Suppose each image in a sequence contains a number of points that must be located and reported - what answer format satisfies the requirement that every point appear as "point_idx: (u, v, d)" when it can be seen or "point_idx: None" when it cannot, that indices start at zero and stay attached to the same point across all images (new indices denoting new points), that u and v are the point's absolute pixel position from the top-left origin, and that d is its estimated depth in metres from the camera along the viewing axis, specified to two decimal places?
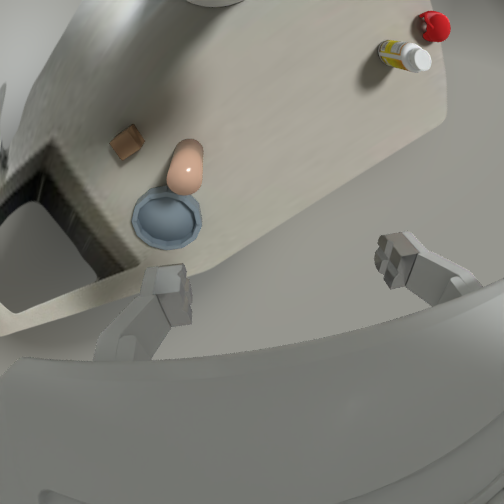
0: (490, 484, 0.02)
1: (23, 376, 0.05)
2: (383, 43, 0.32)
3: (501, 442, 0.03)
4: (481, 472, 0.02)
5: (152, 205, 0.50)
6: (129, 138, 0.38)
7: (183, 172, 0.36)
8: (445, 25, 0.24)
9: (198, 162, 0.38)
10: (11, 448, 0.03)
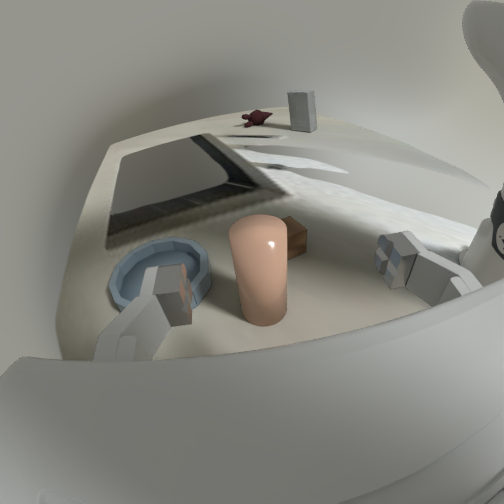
0: (489, 484, 0.02)
1: (23, 376, 0.05)
2: None
3: (501, 442, 0.03)
4: (481, 472, 0.02)
5: (186, 264, 0.37)
6: (295, 231, 0.36)
7: (270, 228, 0.24)
8: None
9: (278, 264, 0.24)
10: (11, 448, 0.03)
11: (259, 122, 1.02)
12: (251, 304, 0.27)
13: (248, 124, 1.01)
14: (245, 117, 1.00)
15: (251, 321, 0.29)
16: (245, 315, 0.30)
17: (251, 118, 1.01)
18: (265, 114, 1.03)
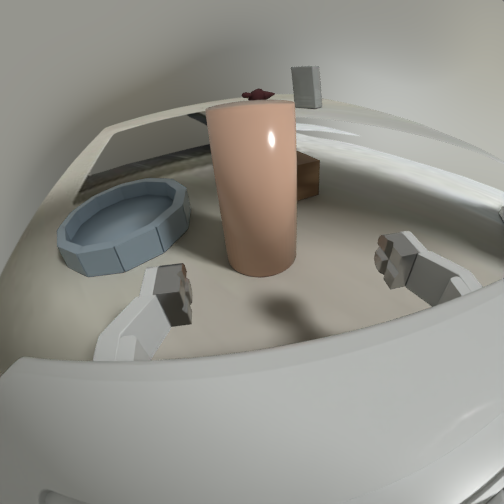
0: (489, 484, 0.02)
1: (23, 376, 0.05)
2: None
3: (501, 442, 0.03)
4: (481, 472, 0.02)
5: (158, 206, 0.27)
6: (305, 161, 0.26)
7: (269, 102, 0.14)
8: None
9: (283, 149, 0.14)
10: (11, 448, 0.03)
11: None
12: (239, 231, 0.17)
13: None
14: (245, 95, 0.90)
15: (241, 268, 0.19)
16: (231, 259, 0.19)
17: (252, 97, 0.92)
18: (267, 93, 0.93)
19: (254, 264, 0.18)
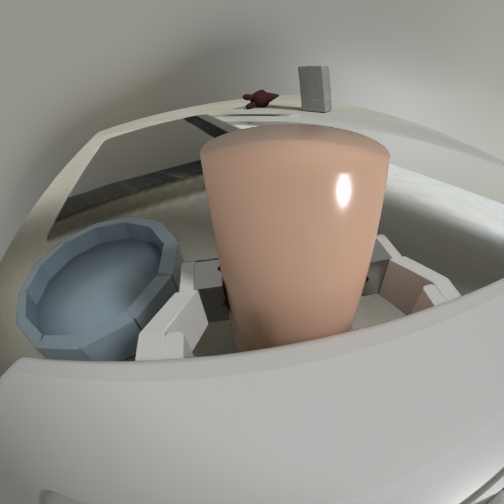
0: (490, 484, 0.02)
1: (23, 376, 0.05)
2: None
3: (501, 442, 0.03)
4: (481, 472, 0.02)
5: (142, 261, 0.20)
6: None
7: (334, 140, 0.07)
8: None
9: (365, 253, 0.07)
10: (11, 448, 0.03)
11: (263, 103, 0.85)
12: None
13: (250, 105, 0.85)
14: (247, 97, 0.83)
15: None
16: None
17: (254, 99, 0.84)
18: (270, 95, 0.86)
19: None
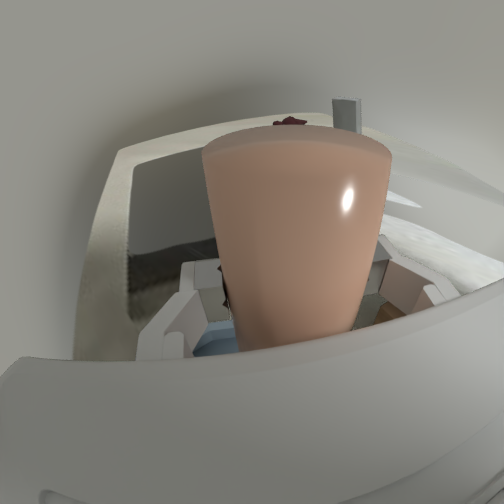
0: (490, 484, 0.02)
1: (23, 376, 0.05)
2: None
3: (501, 442, 0.03)
4: (481, 472, 0.02)
5: None
6: None
7: (336, 141, 0.07)
8: None
9: (367, 254, 0.07)
10: (11, 448, 0.03)
11: None
12: None
13: None
14: (277, 124, 0.87)
15: None
16: None
17: None
18: (299, 122, 0.89)
19: None
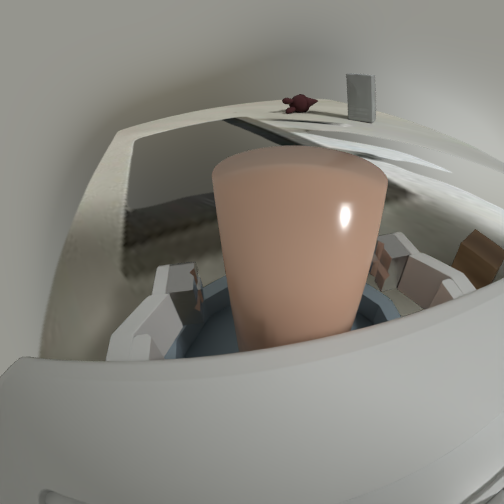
0: (489, 483, 0.02)
1: (23, 376, 0.05)
2: None
3: (502, 441, 0.03)
4: (481, 472, 0.02)
5: None
6: (499, 255, 0.15)
7: (336, 165, 0.08)
8: None
9: (362, 271, 0.07)
10: (11, 448, 0.03)
11: (303, 109, 0.81)
12: None
13: (290, 110, 0.80)
14: (287, 101, 0.79)
15: None
16: None
17: (294, 103, 0.80)
18: (310, 100, 0.81)
19: None
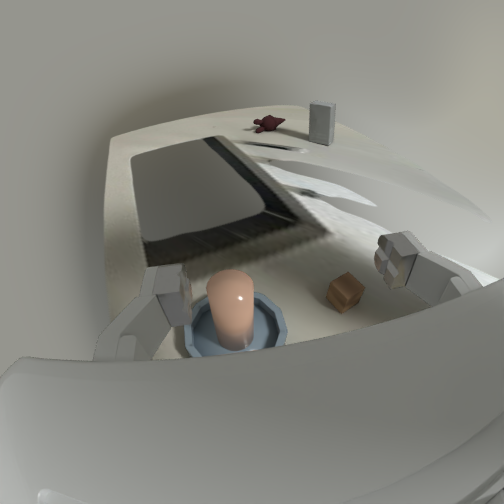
0: (490, 483, 0.02)
1: (23, 376, 0.05)
2: None
3: (501, 442, 0.03)
4: (481, 472, 0.02)
5: (257, 318, 0.39)
6: (356, 289, 0.39)
7: (240, 285, 0.30)
8: None
9: (246, 313, 0.30)
10: (11, 448, 0.03)
11: (271, 129, 0.99)
12: (224, 337, 0.33)
13: (259, 130, 0.98)
14: (257, 122, 0.97)
15: (224, 347, 0.35)
16: (220, 342, 0.36)
17: (263, 124, 0.98)
18: (278, 120, 0.99)
19: (231, 347, 0.35)
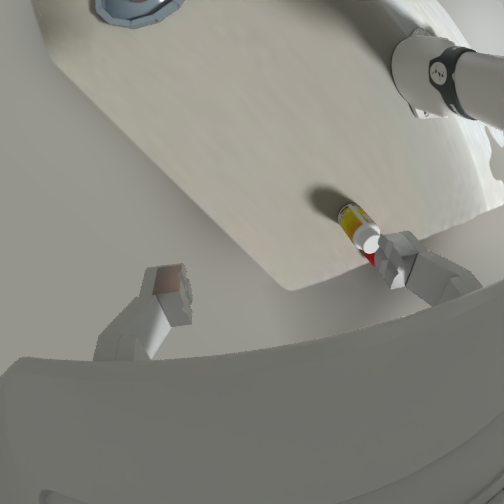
0: (490, 484, 0.02)
1: (23, 376, 0.05)
2: (360, 207, 0.49)
3: (501, 442, 0.03)
4: (481, 472, 0.02)
5: None
6: None
7: None
8: None
9: None
10: (11, 448, 0.03)
11: None
12: None
13: None
14: None
15: (131, 1, 0.22)
16: None
17: None
18: None
19: (136, 1, 0.22)
